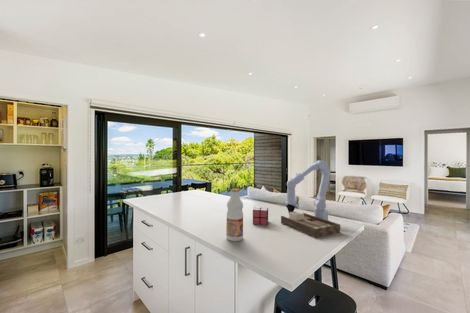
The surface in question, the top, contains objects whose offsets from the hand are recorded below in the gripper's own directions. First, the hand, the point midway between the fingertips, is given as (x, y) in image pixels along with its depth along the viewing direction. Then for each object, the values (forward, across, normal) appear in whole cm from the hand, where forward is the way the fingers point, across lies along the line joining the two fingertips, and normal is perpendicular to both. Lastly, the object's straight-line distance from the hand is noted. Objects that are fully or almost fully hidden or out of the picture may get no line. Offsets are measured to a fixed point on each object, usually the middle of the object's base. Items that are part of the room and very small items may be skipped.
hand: (290, 215), depth 163 cm
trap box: (+4, +18, 0) cm, 18 cm away
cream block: (+1, +6, 0) cm, 6 cm away
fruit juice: (+4, +14, -53) cm, 55 cm away
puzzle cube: (+4, -5, -23) cm, 24 cm away
